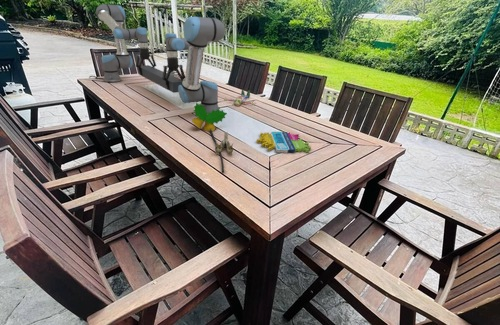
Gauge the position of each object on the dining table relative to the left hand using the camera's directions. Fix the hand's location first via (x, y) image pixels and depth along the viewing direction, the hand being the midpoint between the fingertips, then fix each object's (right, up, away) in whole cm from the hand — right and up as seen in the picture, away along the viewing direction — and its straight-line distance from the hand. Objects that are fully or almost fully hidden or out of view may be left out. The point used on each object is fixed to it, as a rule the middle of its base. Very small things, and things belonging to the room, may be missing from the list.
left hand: (147, 75), depth 232 cm
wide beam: (+17, -12, -18) cm, 28 cm away
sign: (+110, -67, -80) cm, 152 cm away
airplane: (+3, +13, +48) cm, 50 cm away
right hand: (+35, -23, -36) cm, 55 cm away
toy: (+84, -27, -12) cm, 89 cm away
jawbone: (+78, -72, -94) cm, 142 cm away
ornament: (+66, -57, -68) cm, 110 cm away
